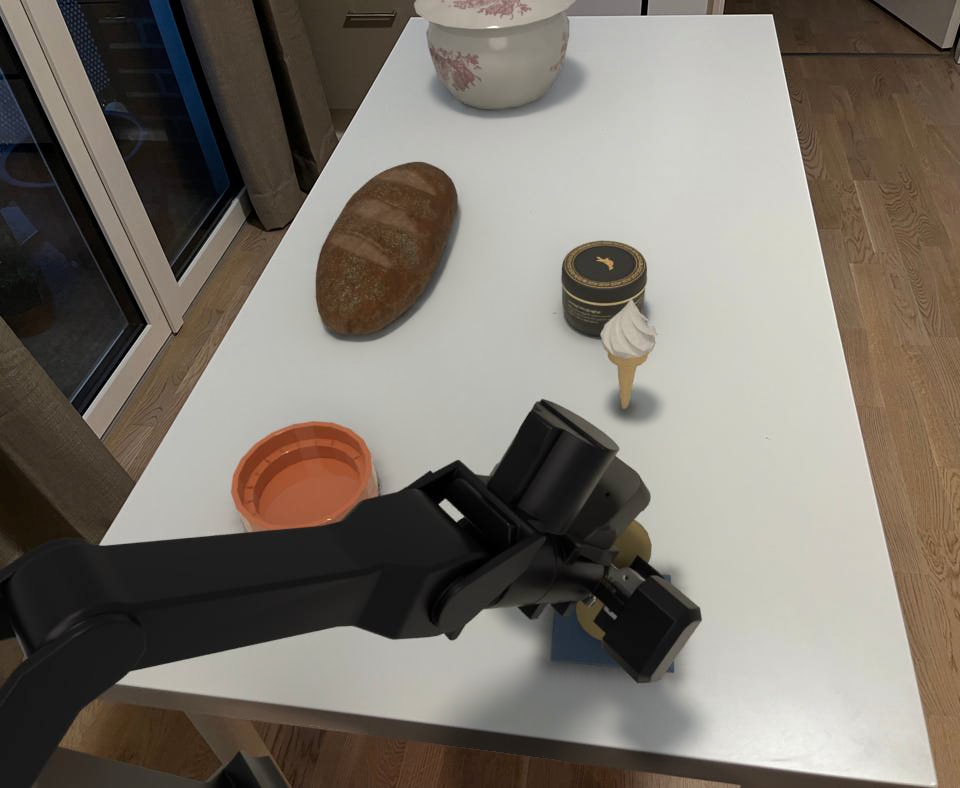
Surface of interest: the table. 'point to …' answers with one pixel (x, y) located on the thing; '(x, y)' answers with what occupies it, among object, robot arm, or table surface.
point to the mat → (580, 642)
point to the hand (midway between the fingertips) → (626, 561)
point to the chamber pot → (496, 48)
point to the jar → (601, 283)
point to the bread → (384, 247)
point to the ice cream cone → (628, 345)
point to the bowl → (303, 477)
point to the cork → (630, 546)
